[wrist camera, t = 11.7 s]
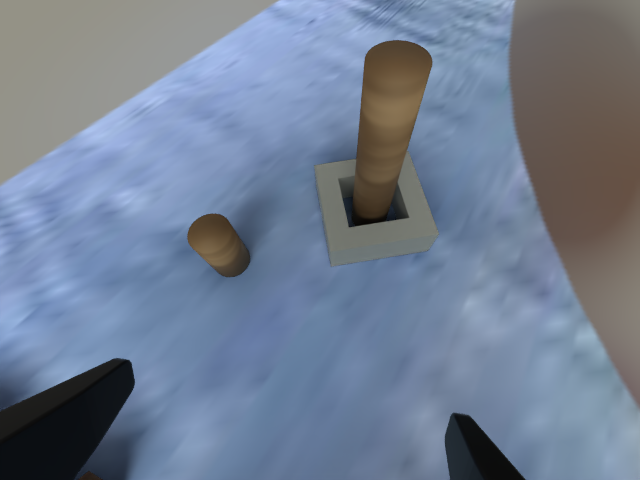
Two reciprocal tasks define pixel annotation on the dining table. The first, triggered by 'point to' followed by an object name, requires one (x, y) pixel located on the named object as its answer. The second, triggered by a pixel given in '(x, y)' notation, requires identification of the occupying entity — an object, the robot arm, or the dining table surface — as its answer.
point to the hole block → (379, 238)
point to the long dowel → (386, 124)
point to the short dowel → (219, 245)
